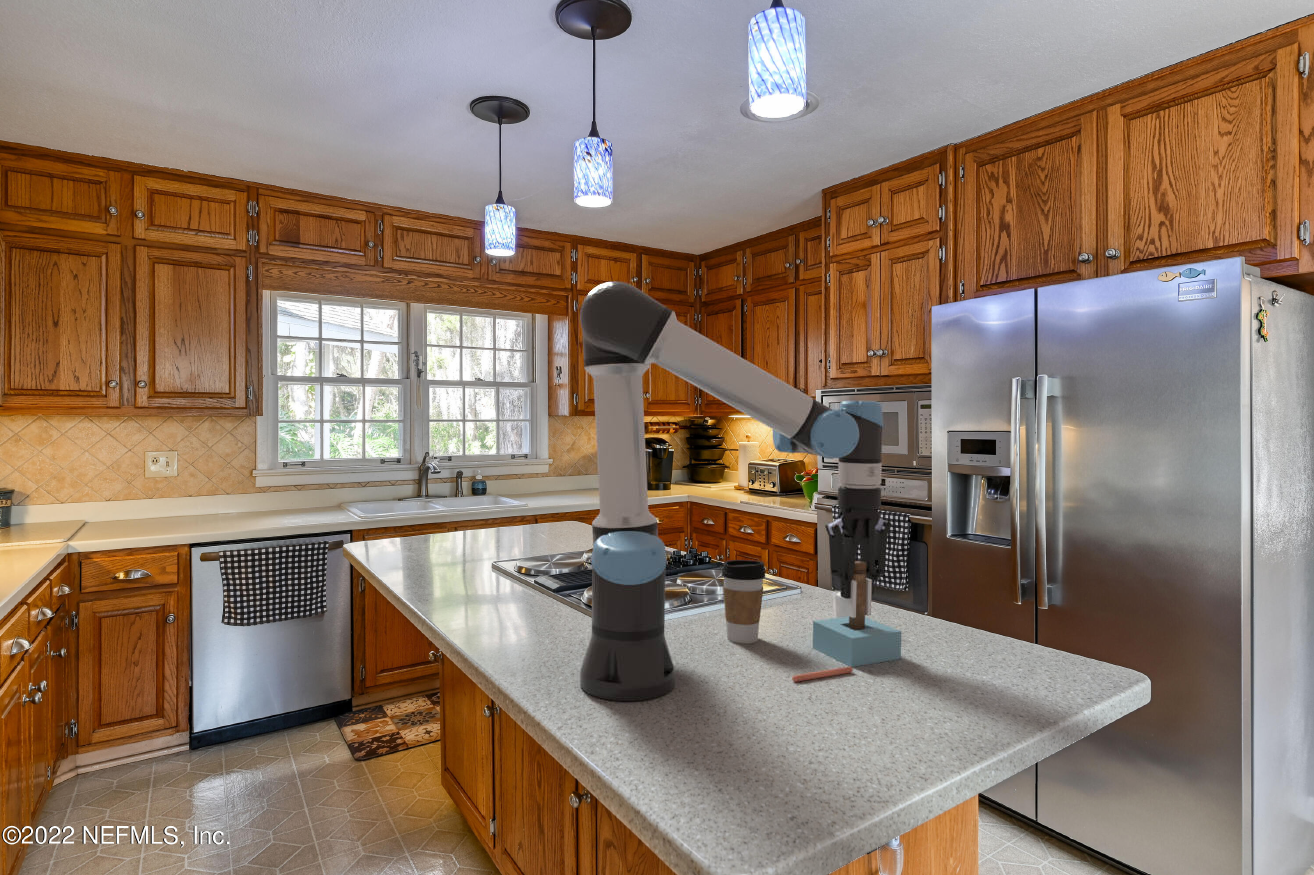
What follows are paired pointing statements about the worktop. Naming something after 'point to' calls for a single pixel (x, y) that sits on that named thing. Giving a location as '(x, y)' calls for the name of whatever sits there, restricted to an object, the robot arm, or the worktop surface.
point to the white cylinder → (838, 605)
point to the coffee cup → (743, 599)
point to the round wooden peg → (859, 596)
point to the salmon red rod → (822, 674)
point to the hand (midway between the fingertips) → (856, 614)
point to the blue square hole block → (856, 641)
